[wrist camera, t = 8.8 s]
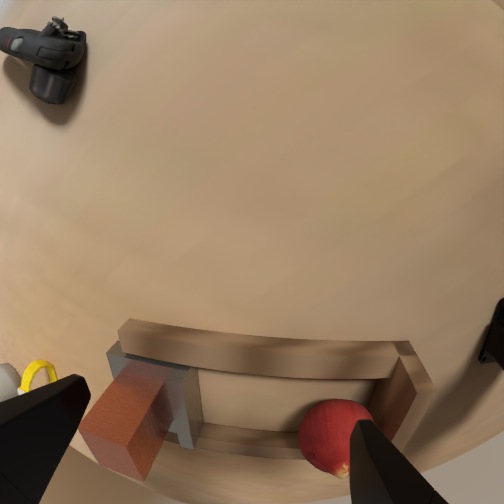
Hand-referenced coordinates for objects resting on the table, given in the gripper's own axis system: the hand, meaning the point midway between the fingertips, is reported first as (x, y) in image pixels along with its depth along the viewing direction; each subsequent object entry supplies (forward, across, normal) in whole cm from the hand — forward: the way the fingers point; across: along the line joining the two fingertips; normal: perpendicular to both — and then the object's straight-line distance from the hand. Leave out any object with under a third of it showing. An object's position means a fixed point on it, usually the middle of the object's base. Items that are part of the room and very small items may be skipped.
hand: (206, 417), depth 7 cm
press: (+12, +8, +11) cm, 18 cm away
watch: (+12, +24, +15) cm, 31 cm away
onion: (+12, -7, +11) cm, 18 cm away
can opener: (+12, +20, -20) cm, 31 cm away
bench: (+12, -1, +11) cm, 16 cm away
